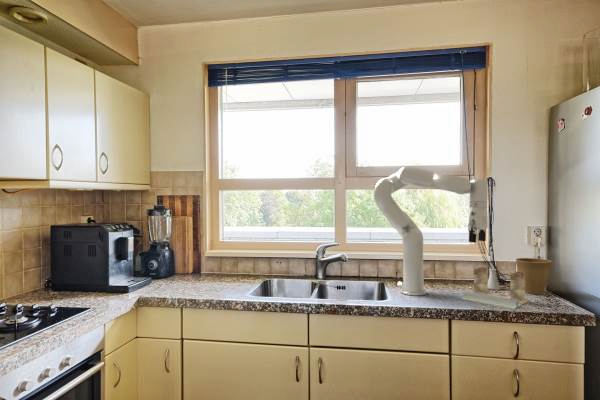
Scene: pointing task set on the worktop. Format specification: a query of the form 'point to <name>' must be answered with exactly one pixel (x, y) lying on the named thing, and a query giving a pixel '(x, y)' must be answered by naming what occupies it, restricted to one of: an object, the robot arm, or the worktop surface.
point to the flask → (493, 280)
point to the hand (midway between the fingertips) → (477, 241)
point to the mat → (491, 303)
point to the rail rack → (515, 284)
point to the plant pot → (534, 273)
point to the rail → (491, 298)
